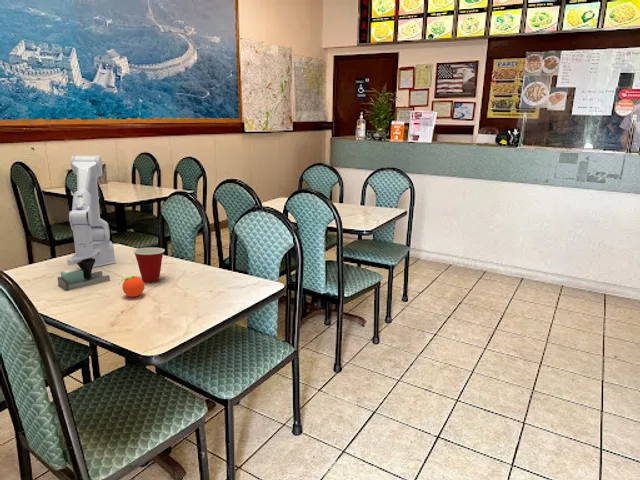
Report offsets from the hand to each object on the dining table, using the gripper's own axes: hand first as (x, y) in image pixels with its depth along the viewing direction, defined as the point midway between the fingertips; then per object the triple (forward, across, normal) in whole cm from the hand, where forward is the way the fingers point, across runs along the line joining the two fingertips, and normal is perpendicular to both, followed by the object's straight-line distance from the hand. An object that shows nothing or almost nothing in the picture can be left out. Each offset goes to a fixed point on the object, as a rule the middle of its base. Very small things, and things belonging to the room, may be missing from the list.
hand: (87, 278), depth 164 cm
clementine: (+2, +6, +23) cm, 24 cm away
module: (+1, +4, -3) cm, 5 cm away
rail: (+1, 0, 0) cm, 2 cm away
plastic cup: (+2, -9, +20) cm, 22 cm away
